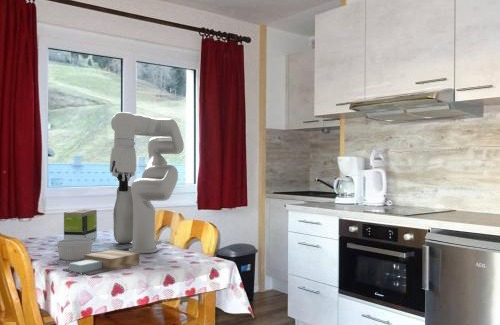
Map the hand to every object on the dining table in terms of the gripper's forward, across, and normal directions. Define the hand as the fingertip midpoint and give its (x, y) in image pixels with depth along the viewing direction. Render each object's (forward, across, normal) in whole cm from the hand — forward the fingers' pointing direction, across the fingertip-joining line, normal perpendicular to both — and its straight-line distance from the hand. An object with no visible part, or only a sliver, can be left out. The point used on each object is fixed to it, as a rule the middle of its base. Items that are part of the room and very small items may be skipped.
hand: (123, 191), depth 177 cm
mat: (+27, +18, +2) cm, 33 cm away
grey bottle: (+27, -30, -30) cm, 50 cm away
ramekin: (+27, +6, -20) cm, 34 cm away
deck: (+27, +7, +2) cm, 28 cm away
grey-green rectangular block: (+27, +19, +2) cm, 33 cm away
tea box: (+27, -25, -55) cm, 66 cm away
